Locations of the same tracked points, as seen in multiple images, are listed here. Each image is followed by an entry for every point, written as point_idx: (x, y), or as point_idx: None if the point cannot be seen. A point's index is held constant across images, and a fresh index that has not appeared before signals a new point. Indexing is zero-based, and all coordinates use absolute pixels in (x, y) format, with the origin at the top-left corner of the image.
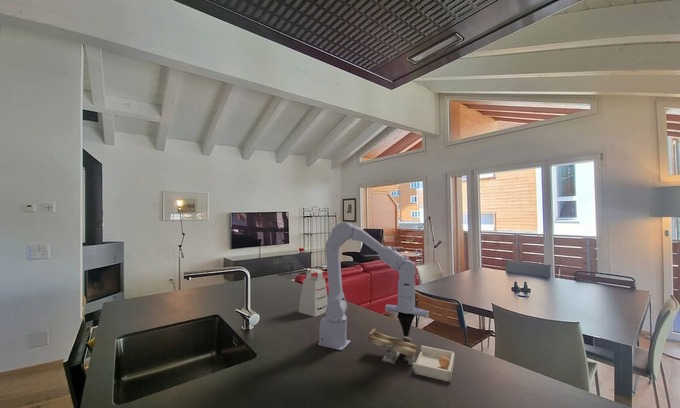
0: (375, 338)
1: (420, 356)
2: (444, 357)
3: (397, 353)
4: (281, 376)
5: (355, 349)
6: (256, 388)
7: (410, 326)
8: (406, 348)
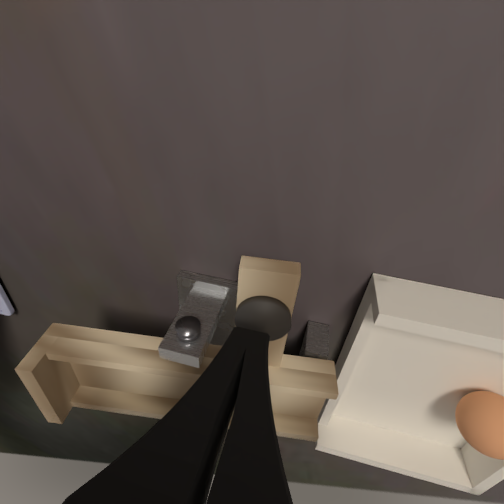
0: (97, 406)
1: (357, 360)
2: (500, 458)
3: (230, 315)
4: (23, 415)
5: (45, 289)
6: (28, 437)
7: (269, 405)
8: (274, 391)
